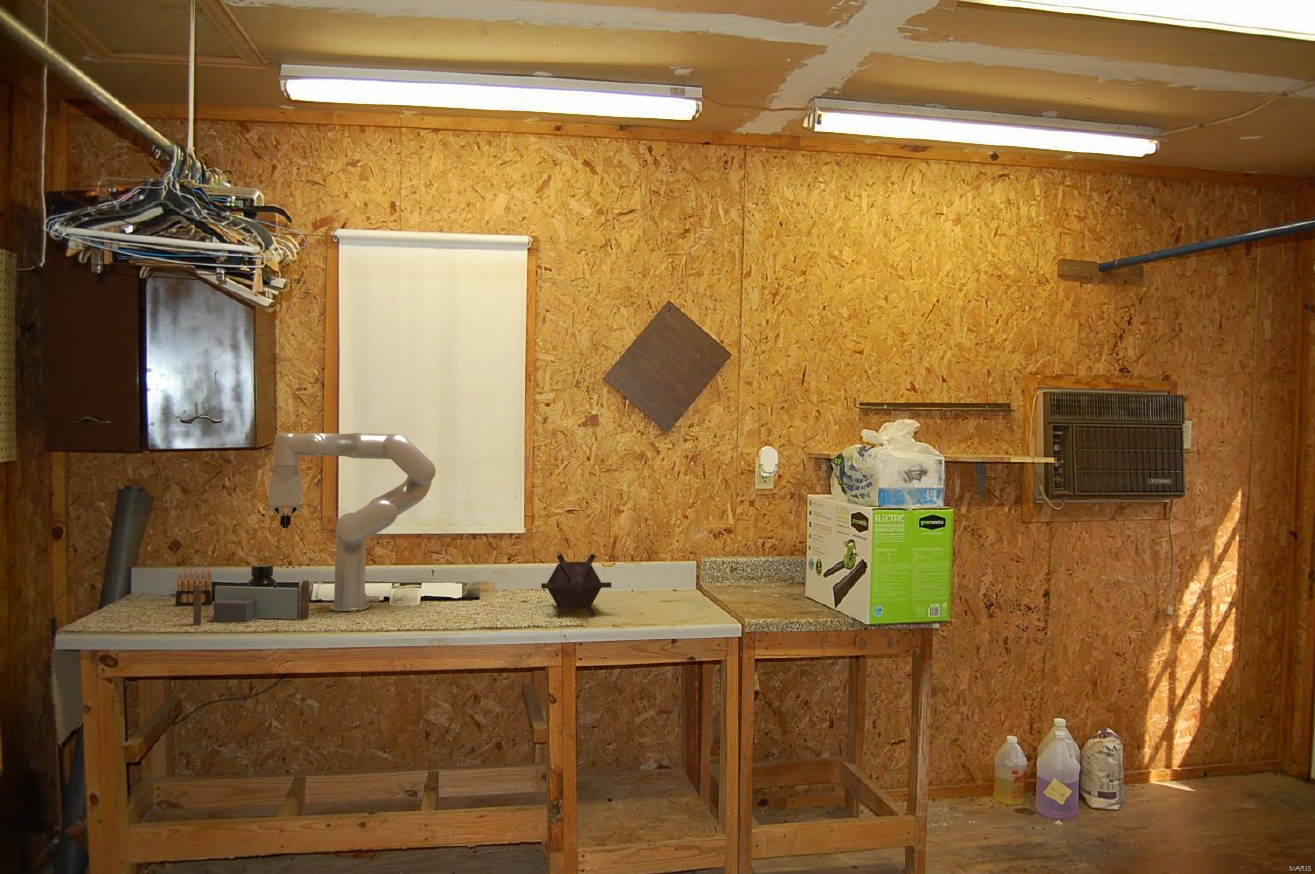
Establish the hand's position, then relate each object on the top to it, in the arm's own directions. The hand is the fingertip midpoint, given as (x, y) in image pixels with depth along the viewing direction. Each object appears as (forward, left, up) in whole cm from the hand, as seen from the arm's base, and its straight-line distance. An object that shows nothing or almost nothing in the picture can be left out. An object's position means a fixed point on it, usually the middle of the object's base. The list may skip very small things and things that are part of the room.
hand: (285, 527), depth 271 cm
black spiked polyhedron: (-90, +25, -27) cm, 97 cm away
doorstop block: (+13, +9, -27) cm, 32 cm away
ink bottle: (+8, -22, -27) cm, 36 cm away
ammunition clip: (+28, -18, -27) cm, 43 cm away
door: (+7, +8, -27) cm, 29 cm away
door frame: (+8, +13, -27) cm, 31 cm away
